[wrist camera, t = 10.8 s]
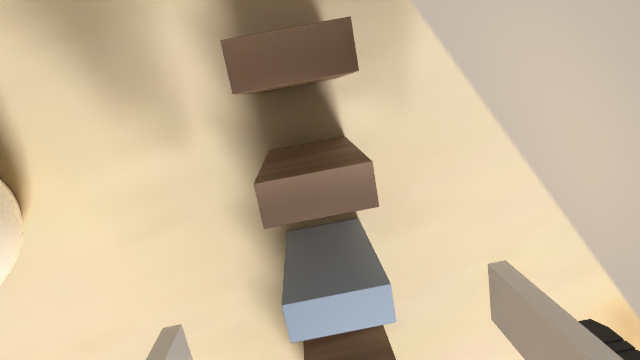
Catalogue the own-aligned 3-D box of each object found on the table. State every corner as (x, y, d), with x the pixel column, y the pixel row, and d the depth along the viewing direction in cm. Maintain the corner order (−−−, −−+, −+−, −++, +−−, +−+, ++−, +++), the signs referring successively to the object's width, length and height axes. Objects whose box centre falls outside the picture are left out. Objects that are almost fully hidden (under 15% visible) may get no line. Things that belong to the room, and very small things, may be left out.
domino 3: (362, 244, 26) (396, 321, 17) (292, 258, 26) (290, 343, 17) (358, 218, 25) (390, 284, 17) (286, 231, 25) (281, 305, 17)
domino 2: (269, 150, 24) (253, 184, 15) (344, 136, 24) (372, 161, 15) (275, 180, 24) (264, 228, 16) (349, 166, 25) (379, 206, 16)
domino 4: (302, 304, 27) (305, 407, 18) (370, 290, 27) (406, 386, 18) (307, 327, 27) (313, 439, 18) (374, 314, 27) (411, 419, 19)
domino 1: (249, 60, 23) (220, 40, 14) (329, 45, 23) (350, 16, 14) (256, 93, 23) (232, 93, 14) (335, 78, 23) (358, 70, 14)
